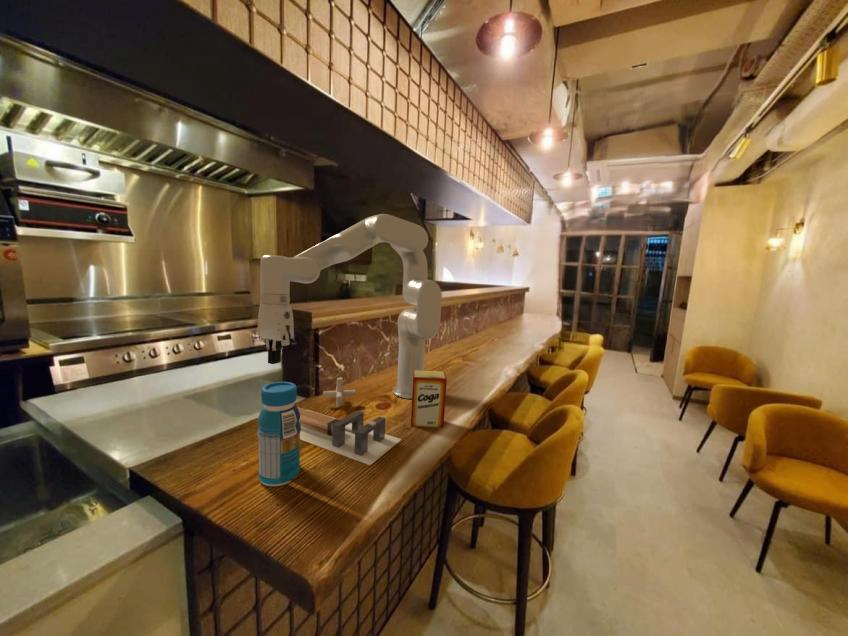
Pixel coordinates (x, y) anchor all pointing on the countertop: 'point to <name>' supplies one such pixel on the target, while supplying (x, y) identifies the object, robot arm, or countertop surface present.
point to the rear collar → (339, 427)
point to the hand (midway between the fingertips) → (274, 362)
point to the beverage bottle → (279, 434)
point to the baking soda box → (428, 398)
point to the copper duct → (316, 421)
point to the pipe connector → (339, 392)
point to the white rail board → (350, 444)
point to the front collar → (362, 434)
